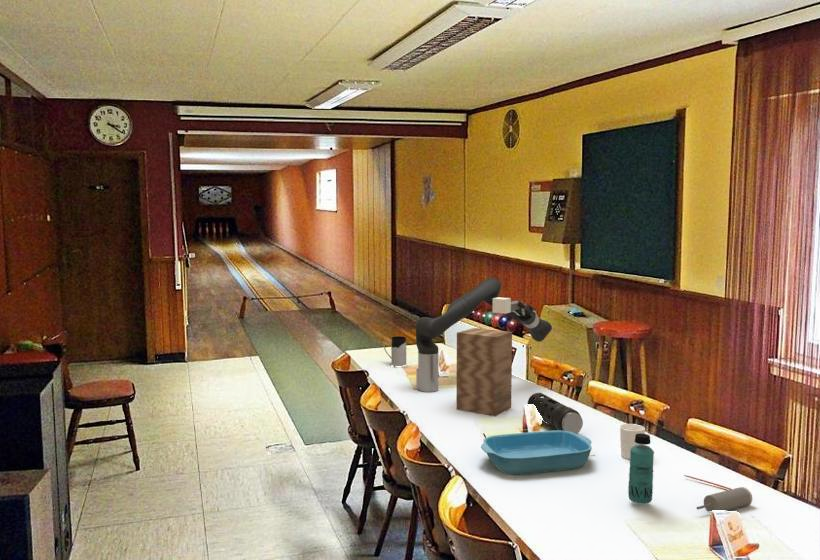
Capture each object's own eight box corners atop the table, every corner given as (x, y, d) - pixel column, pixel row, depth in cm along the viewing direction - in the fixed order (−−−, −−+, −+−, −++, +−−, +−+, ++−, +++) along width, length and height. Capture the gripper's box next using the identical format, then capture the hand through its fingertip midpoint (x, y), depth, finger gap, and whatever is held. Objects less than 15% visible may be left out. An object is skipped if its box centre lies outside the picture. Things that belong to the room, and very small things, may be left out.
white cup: (644, 453, 238) (645, 425, 237) (644, 461, 230) (644, 432, 229) (619, 451, 240) (620, 422, 239) (618, 459, 233) (619, 429, 232)
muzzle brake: (548, 416, 281) (548, 390, 280) (584, 438, 255) (585, 410, 254) (526, 418, 279) (526, 392, 278) (560, 440, 252) (561, 412, 251)
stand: (456, 409, 291) (456, 332, 288) (473, 401, 303) (473, 327, 299) (495, 416, 281) (496, 337, 278) (511, 408, 292) (512, 331, 289)
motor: (763, 504, 197) (761, 486, 197) (705, 519, 187) (704, 500, 187) (696, 488, 218) (695, 472, 218) (642, 501, 208) (640, 484, 208)
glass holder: (401, 368, 367) (401, 339, 365) (378, 365, 374) (378, 337, 373) (410, 365, 374) (410, 337, 372) (388, 362, 382) (388, 334, 380)
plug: (492, 312, 300) (492, 298, 299) (512, 307, 315) (512, 293, 315) (505, 313, 296) (505, 299, 296) (525, 308, 312) (525, 294, 311)
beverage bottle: (624, 500, 200) (626, 431, 198) (646, 499, 200) (649, 430, 198) (633, 509, 193) (635, 438, 191) (656, 508, 194) (659, 438, 192)
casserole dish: (494, 481, 215) (494, 458, 214) (471, 456, 236) (471, 435, 236) (604, 470, 223) (605, 448, 222) (572, 447, 245) (573, 427, 244)
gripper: (516, 308, 327) (501, 293, 314) (544, 311, 319) (530, 295, 306) (512, 323, 325) (497, 309, 312) (540, 326, 317) (526, 311, 304)
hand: (514, 302), depth 309 cm, fingers closed on plug, 4 cm apart
